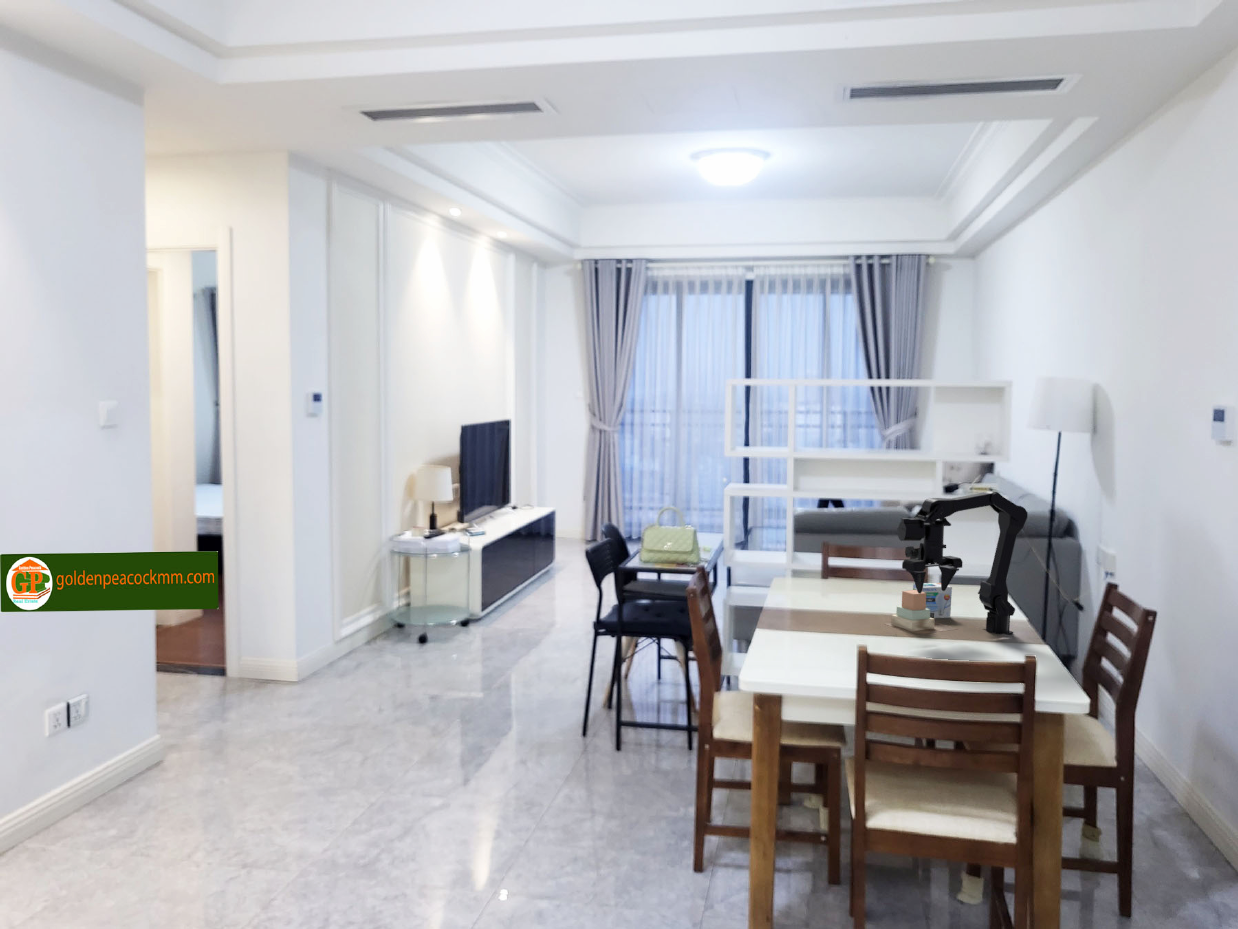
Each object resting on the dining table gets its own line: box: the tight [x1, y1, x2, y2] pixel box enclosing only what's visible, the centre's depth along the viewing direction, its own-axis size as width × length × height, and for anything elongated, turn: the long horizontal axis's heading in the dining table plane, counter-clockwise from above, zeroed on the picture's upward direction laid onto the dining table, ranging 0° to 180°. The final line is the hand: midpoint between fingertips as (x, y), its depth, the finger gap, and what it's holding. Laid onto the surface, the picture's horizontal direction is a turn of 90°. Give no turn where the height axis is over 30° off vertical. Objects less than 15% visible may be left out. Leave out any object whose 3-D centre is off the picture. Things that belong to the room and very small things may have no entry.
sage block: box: [895, 605, 930, 620], centre depth 298 cm, size 7×7×3 cm
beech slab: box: [890, 614, 936, 631], centre depth 298 cm, size 9×9×3 cm
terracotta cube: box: [901, 589, 926, 610], centre depth 298 cm, size 5×5×5 cm
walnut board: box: [885, 621, 958, 636], centre depth 298 cm, size 17×14×1 cm
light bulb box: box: [912, 582, 953, 619], centre depth 313 cm, size 11×7×11 cm, turn 99°
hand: (931, 591), depth 291 cm, fingers open, 9 cm apart
